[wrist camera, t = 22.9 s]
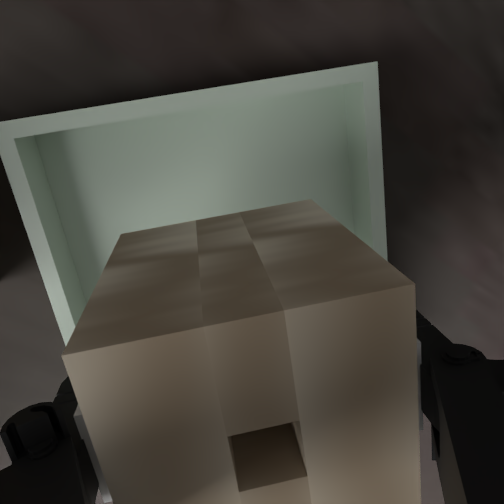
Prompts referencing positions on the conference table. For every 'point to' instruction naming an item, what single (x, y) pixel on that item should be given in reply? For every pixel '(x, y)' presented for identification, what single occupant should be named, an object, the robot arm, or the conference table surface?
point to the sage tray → (192, 167)
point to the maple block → (251, 364)
